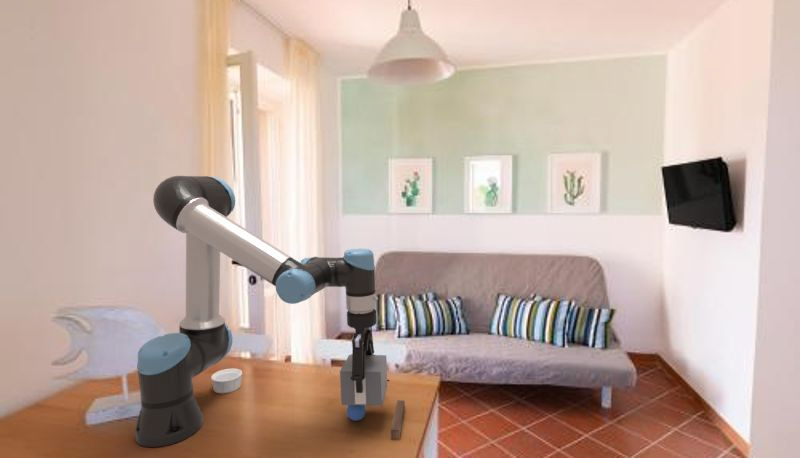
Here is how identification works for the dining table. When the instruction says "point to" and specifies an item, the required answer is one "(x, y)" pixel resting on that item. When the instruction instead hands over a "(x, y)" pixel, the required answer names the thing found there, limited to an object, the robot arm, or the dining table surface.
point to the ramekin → (226, 380)
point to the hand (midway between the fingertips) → (365, 392)
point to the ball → (356, 412)
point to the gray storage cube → (374, 381)
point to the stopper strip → (398, 420)
